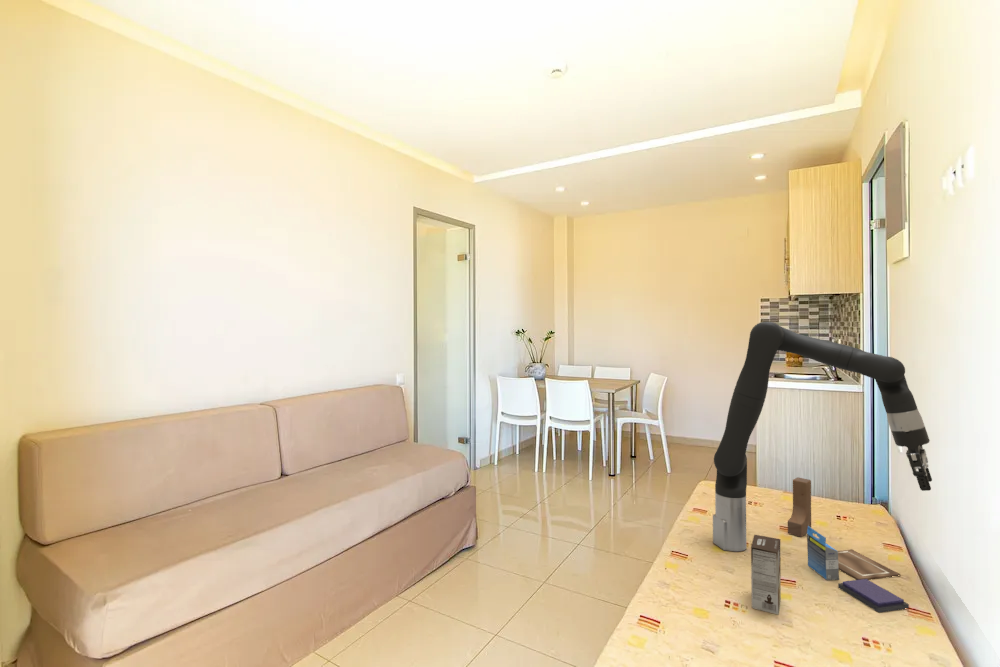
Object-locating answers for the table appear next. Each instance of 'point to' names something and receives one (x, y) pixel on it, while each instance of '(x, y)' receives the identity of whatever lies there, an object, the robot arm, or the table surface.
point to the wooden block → (800, 507)
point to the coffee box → (766, 574)
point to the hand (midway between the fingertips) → (926, 485)
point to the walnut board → (862, 566)
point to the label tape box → (822, 556)
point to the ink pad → (873, 595)
